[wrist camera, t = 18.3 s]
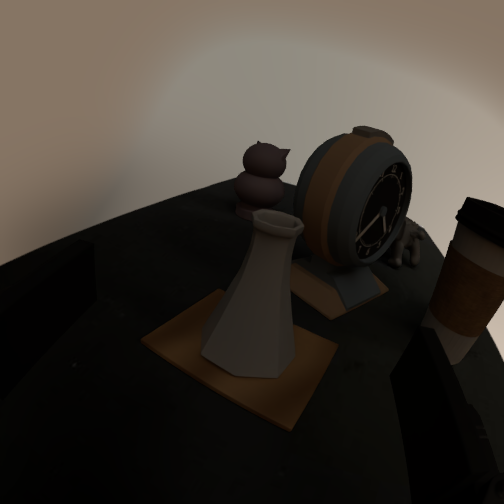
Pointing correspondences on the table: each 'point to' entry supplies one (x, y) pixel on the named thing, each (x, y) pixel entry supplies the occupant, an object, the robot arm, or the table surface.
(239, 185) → the cat figurine
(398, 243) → the gray elephant figurine
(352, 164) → the alarm clock
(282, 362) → the flask
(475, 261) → the coffee cup
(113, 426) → the table surface
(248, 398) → the wooden board
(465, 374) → the table surface
